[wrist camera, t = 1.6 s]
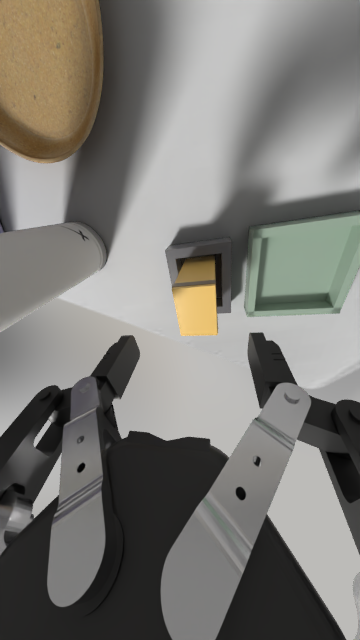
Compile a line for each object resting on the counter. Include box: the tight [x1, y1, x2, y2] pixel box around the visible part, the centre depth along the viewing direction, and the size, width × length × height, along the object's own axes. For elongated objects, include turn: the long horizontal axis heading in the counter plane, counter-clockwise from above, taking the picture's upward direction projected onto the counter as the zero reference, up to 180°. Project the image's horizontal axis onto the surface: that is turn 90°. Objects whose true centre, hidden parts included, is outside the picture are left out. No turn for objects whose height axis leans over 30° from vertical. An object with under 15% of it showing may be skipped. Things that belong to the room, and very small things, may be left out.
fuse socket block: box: [165, 237, 232, 313], centre depth 21 cm, size 7×8×2 cm
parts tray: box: [244, 210, 360, 317], centre depth 19 cm, size 10×10×2 cm
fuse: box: [172, 255, 218, 336], centre depth 19 cm, size 4×5×9 cm
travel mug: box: [0, 222, 107, 332], centre depth 14 cm, size 6×7×20 cm
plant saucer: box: [0, 0, 104, 163], centre depth 13 cm, size 15×15×3 cm
